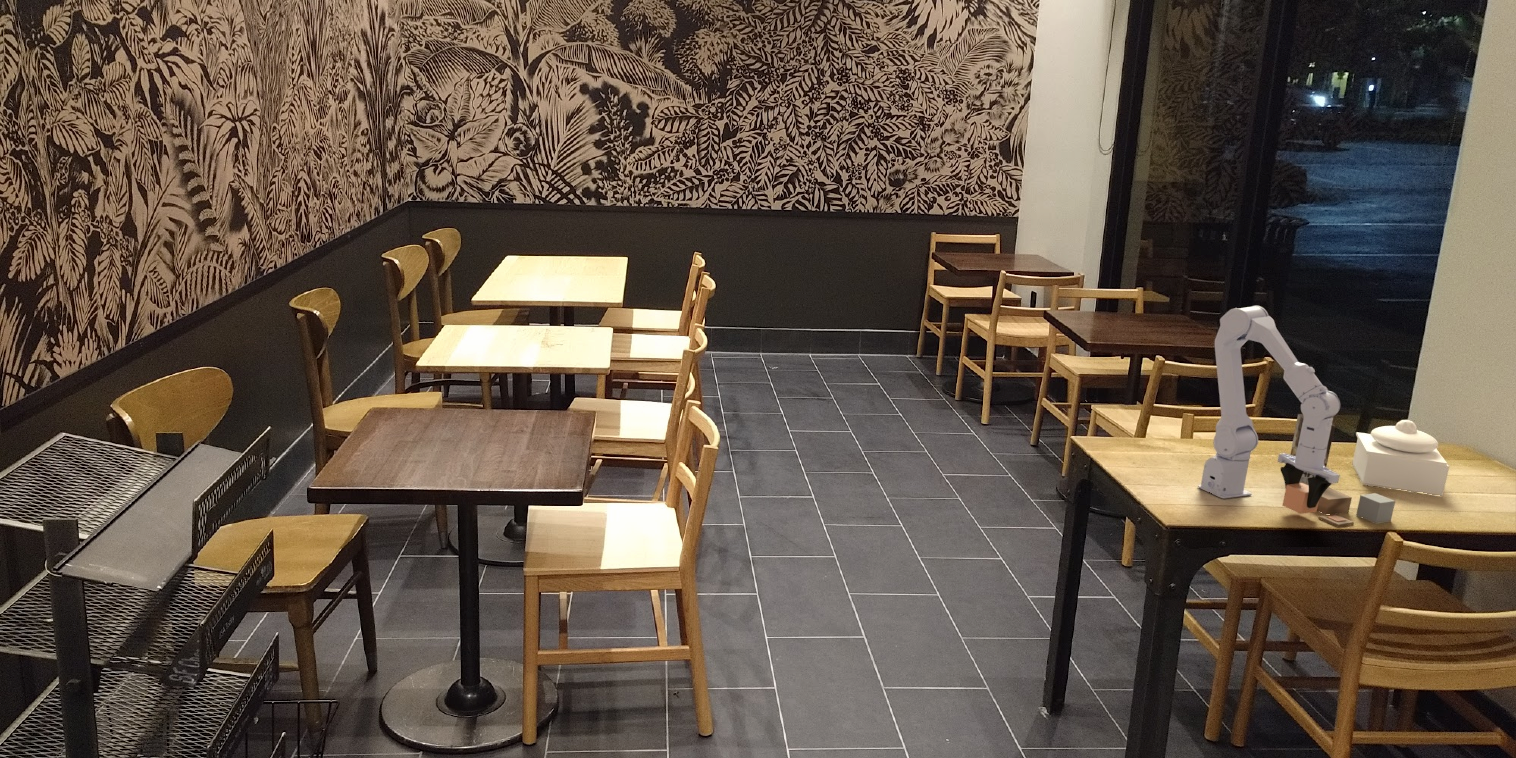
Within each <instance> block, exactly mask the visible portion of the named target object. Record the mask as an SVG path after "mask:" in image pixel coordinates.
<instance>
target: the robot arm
mask: <svg viewBox="0 0 1516 758" xmlns="http://www.w3.org/2000/svg"><path fill="white" fill-rule="evenodd" d="M1219 324H1220V326H1219V328H1218V331H1217V333H1216V335H1215V338H1214V352H1215V353H1214V355H1215V362H1216V363H1215V364H1216V372H1217V373H1216V374H1217V383H1218V393H1219V405H1220V414H1221V416H1220V418H1219V420H1218V421H1217V423H1216V424H1215V436H1214V437H1213V441H1212V443H1213V448H1214V450H1215V452H1216V453H1215V455H1214V456H1212V457H1209V458H1208V459H1207V460H1206V461H1205V463H1204V465H1203V471H1202V477H1201V482H1200V484H1198V485H1197V488H1198V487H1199V489H1200V490H1203V491H1206V492H1207V493H1209V492H1210V493H1209V494H1211V493H1212V495H1214V496H1217V497H1218V498H1220V499H1232V498H1238V497H1244V496H1245V497H1246V496H1251V495H1252V492H1250V491H1248V490H1247V489H1245V485H1246V480H1247V474H1248V469H1249V463H1250V459H1251V453H1252V451H1255V449H1256V448H1257V446H1258V444H1259V435H1258V434H1257V432H1256V430H1255V427H1254V422H1253V420H1252V418H1250V417H1249V415H1248V414H1247V407H1246V395H1245V385H1244V375H1243V374H1244V373H1243V363H1242V354H1241V353H1242V352H1241V348H1242V346H1244V345H1245V343H1246V342H1248V341H1252V342H1253V341H1254V342H1257V343H1260V344H1262V345H1263V347H1264V348H1265V349H1266V350H1267V351H1268V353H1269V354H1270V355H1271V356H1272V357H1273V359H1274V360H1275V362H1277V363H1278V364H1279V366H1280V368H1282V369H1283V370H1284V371H1283V380H1284V382H1285V383H1286V384H1287V385H1288V387H1289V388H1290V389H1291V391H1292V392H1293V393H1294V395H1295V396H1296V398H1297V399H1298V400H1299V402H1300V403H1301V404H1300V411H1301V414H1303V416H1304V420H1303V424H1302V429H1301V434H1300V439H1299V443H1298V448H1297V453H1296V456H1292V455H1290V454H1289V453H1286V452H1283V453H1279V454H1278V456H1277V457H1278V458H1277V462H1278V463H1280V464H1285V465H1284V466H1281V467H1280V472H1281V474H1282V478H1283V482H1284V486H1285V489H1286V485H1289V484H1297V483H1299V482H1300V479H1301V477H1302V475H1303V473H1304V471H1305V472H1307V473H1310V474H1312V475H1315V477H1312V478H1308V484H1309V493H1308V499H1307V507H1308V508H1314V507H1316V505H1317V503H1318V501H1319V499H1320V497H1321V496H1322V494H1323V493H1324V492H1325V490H1326V489H1327V488H1328V487H1329V488H1330V486H1331V485H1332V484H1338V483H1339V480H1340V474H1338V473H1337V472H1335V471H1333V470H1331V469H1329V468H1328V467H1327V466H1326V467H1325V466H1324V459H1325V454H1326V450H1327V445H1328V440H1329V436H1330V431H1331V425H1332V424H1333V421H1334V416H1336V415H1337V414H1338V413H1339V411H1340V409H1341V401H1340V398H1339V397H1338V395H1337V394H1336V392H1334V391H1330V390H1329V389H1328V388H1327V386H1325V385H1323V384H1322V382H1321V381H1320V380H1319V378H1318V377H1317V375H1316V374H1315V372H1316V371H1315V368H1313V366H1309V365H1308V364H1306V363H1304V362H1303V363H1302V362H1300V361H1299V360H1298V359H1297V357H1296V355H1294V353H1293V351H1292V350H1291V349H1290V347H1289V345H1288V343H1287V342H1286V341H1285V339H1284V337H1282V335H1281V332H1279V330H1278V329H1277V327H1276V326H1277V325H1276V323H1275V320H1274V319H1273V318H1272V317H1271V316H1270V315H1269V313H1268V311H1267V310H1266V309H1265V308H1264V307H1263V306H1260V305H1252V306H1247V307H1241V308H1237V307H1235V308H1231V309H1229V310H1228V311H1226V312H1225V314H1224V315H1223V316H1221V317H1220V319H1219Z"/></svg>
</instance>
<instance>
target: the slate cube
mask: <svg viewBox="0 0 1516 758" xmlns="http://www.w3.org/2000/svg"><path fill="white" fill-rule="evenodd" d="M1395 504H1396V500H1394V499H1392V498H1389V497H1386V496H1384V495H1381V494H1378V493H1376V492H1374V493H1373V492H1372V493H1367V494H1360V496H1359V501H1358V504H1357V505H1358V506H1357V508H1356V509H1357V510H1356V514H1355V516H1356V515H1357V517H1359V518H1361V517H1363V518H1362V519H1363V520H1366V521H1368V520H1369V522H1371V523H1374V524H1381V523H1389V522H1392V517H1393V512H1394V508H1395Z"/></svg>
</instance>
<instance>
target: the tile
mask: <svg viewBox="0 0 1516 758" xmlns="http://www.w3.org/2000/svg"><path fill="white" fill-rule="evenodd" d="M1319 518H1320V519H1319ZM1318 519H1319V520H1321V519H1322V520H1321V521H1323V520H1324V522H1325V521H1326V522H1325V523H1328V524H1330V525H1332V526H1334V527H1337V528H1341V527H1346V526H1348V527H1349V526H1354V523H1355V522H1354V521H1353V520H1350V519H1348V518H1345V517H1343V516H1341V515H1340V514H1330V515H1324V514H1323V515H1319V516H1318Z"/></svg>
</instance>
